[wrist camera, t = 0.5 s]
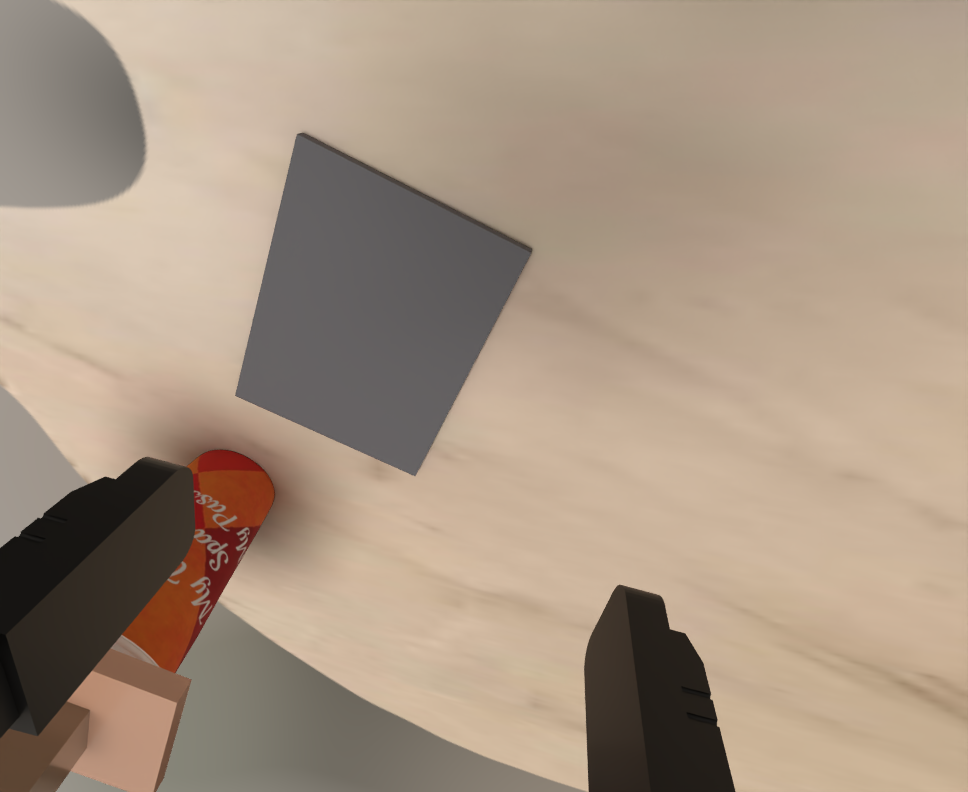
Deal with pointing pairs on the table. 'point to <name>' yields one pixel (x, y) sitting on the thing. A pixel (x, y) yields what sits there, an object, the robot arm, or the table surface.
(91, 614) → the robot arm
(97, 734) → the cover
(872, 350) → the table surface
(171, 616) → the coffee cup
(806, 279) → the table surface
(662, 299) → the table surface
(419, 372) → the mat
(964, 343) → the table surface
